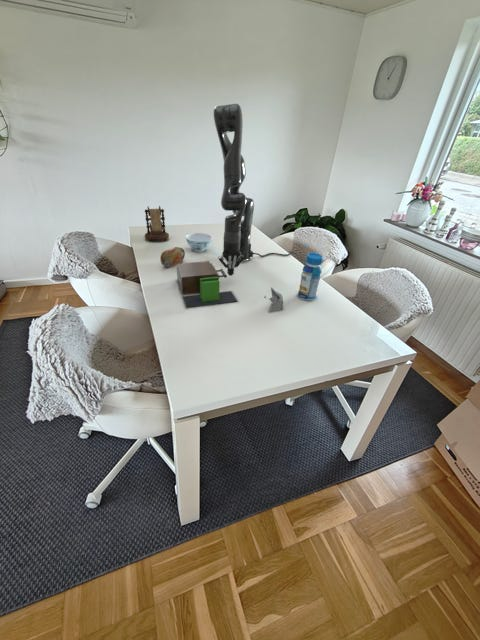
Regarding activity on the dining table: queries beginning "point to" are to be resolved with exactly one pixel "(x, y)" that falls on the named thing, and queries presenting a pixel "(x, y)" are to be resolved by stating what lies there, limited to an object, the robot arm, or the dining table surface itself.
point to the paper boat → (276, 300)
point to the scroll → (155, 225)
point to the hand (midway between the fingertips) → (230, 274)
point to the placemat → (196, 301)
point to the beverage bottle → (310, 277)
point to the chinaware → (198, 241)
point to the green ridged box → (209, 289)
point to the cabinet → (193, 275)
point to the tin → (172, 256)
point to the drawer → (218, 271)
